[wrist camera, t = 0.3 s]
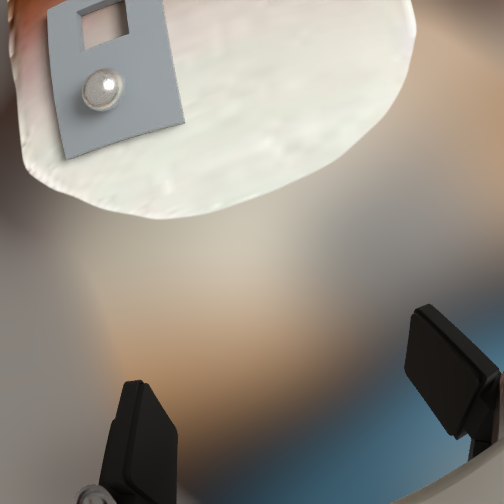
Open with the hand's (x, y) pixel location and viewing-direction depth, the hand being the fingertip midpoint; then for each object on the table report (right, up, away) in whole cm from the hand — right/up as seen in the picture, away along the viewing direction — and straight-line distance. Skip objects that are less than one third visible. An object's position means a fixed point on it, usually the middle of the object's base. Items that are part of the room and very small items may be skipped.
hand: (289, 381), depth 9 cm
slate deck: (-18, +28, +19) cm, 38 cm away
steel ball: (-17, +21, +16) cm, 32 cm away
